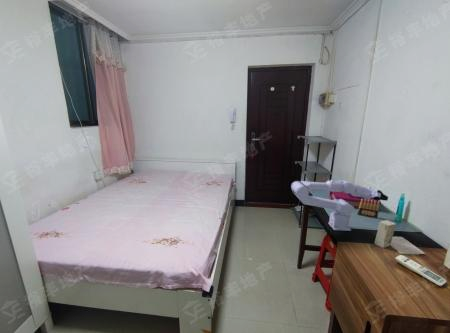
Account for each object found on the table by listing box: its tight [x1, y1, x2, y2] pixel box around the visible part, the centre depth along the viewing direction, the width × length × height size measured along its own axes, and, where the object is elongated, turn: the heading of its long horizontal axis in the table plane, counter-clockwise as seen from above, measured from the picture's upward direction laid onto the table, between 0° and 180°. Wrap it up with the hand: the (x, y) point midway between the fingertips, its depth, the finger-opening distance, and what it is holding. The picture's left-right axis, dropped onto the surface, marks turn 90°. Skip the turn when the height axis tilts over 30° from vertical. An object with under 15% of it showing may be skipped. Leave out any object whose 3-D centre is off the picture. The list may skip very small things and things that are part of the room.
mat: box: [389, 236, 426, 255], centre depth 108 cm, size 12×14×1 cm
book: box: [329, 191, 382, 212], centre depth 158 cm, size 21×28×8 cm
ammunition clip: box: [357, 199, 381, 219], centre depth 137 cm, size 11×2×12 cm, turn 66°
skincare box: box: [374, 219, 397, 249], centre depth 107 cm, size 6×4×12 cm
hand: (381, 198), depth 120 cm, fingers open, 7 cm apart
